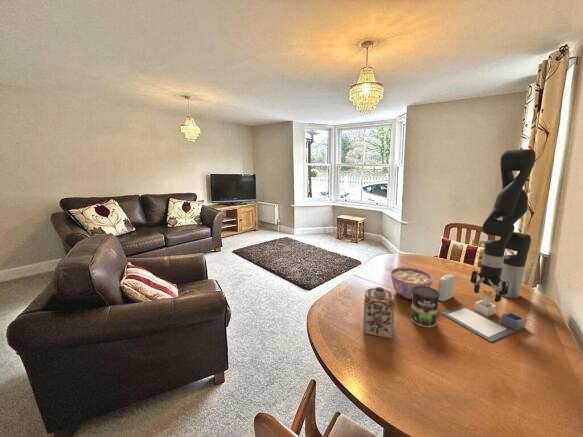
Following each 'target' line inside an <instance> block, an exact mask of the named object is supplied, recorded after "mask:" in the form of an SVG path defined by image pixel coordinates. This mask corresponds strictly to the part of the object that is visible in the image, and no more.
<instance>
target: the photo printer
mask: <svg viewBox="0 0 583 437" xmlns="http://www.w3.org/2000/svg"><path fill="white" fill-rule="evenodd" d="M455 284H456V277H455V276H454V275H453V274H450V273H449V274H445V275H443V276H442V277H441V278H440V279H439V281H438V285H437V286H438V288H437V291H438V292H439V294H440V296H439V302H446V301H448V300H450V299H451V298H453V296H454V293H455Z"/></svg>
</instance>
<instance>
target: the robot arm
mask: <svg viewBox="0 0 583 437" xmlns="http://www.w3.org/2000/svg"><path fill="white" fill-rule="evenodd" d="M536 158H537V156H536V152H535V150H534V149H531V148H525V149H510V150H508V149H507V150H505V151H503V152H502V153H501V155H500V161H499V162H500V175H501V176H500V177H501V185H502V186H501V187H502V188H501V191H500V192H499V193H498V194H497V196H496V199H495V203H494V206H493V209H492V211H491V212H490V213H489V215H488V216H487V218H486V219H485V221H483V223H482V228H481V229H482V232H483V233H484V234H485V235H489V236H494V237H495V236H496V237H499V239H496V240H495V239H491V240H490V239H489V240H486V241H485V242H484V249H483V255H482V257H481V262H480V268H479V271H478V269H475V270H472V272H471V276H470V281H469V282H470V283H472V284H473V285H474V288H473V292H474V294H479V293H480V289H481V284H483V285H487V286H488V287H491V288H492V289H493V291H494V292H495V296H494V302H495V303H499V302H500V301H502V297H504V298H509V299H519V298H520V295H521V289H522V284H523V280H524V279H523V278H524V274H525V268H526V263H527V259H528V256H529V255H528V254H529V251H530V248H531V244H532V238H531V235H530V234H527V233H521V232H517V231H515V223H516V222H517V221H519V220H520V219H521V218H522V217H523V216H524V215H525V214H526V213H527V212H528V208H529V207H528V205H529V204H528V203H529V196H528V194H527V192H526V191H525V190H524V186H525V184H526V183H527V181H528V178H529V176H530V175H531V172H532V170H533V168H534V165H535V162H536ZM514 172H518V173H517V175H516V177H515V176H514ZM500 218H502V219H500ZM506 250H510V251H513V252H516V253H515V254H506V255H505V253H506V252H505V251H506ZM478 276H479V278H480V279H478Z"/></svg>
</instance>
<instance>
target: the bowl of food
mask: <svg viewBox="0 0 583 437" xmlns="http://www.w3.org/2000/svg"><path fill="white" fill-rule="evenodd" d="M390 277H391V283H392V286H393V289H394V290H395V291H394V292H396V293H397V294H398V295H400V296H402V297H404V298H406V299H408V300H412V297H413V288H414V287H416V286H426V287H430V288H431V286H432V284H433V281H434V277H433V276H432V274H430V273H429V272H427V271H424V270H423V269H419V268H414V267H410V266H409V267H407V266H406V267H405V266H404V267H403V266H401V267H395V268H393V269H391V271H390Z"/></svg>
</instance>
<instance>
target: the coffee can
mask: <svg viewBox="0 0 583 437" xmlns="http://www.w3.org/2000/svg"><path fill="white" fill-rule="evenodd" d="M439 296H440V294H439V292H438V289H435V288H433V287H431V286H430V287H426V286H416V287H414V288H413V297H412V299H411V300H412V301H411V309H410V321H412V322H413V323H414V324H416V325H417V326H421V327H423V328H433V327H435V326H436V325H437V317H438V311H439V310H438V308H439V302H440V300H439Z"/></svg>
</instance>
